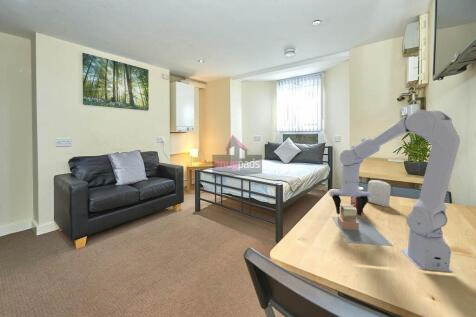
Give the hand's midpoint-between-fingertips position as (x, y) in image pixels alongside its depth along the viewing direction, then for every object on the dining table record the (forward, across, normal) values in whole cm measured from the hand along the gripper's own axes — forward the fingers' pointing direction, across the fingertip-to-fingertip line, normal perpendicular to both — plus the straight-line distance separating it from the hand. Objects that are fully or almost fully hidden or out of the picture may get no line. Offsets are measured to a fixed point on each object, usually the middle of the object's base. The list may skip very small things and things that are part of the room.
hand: (348, 214), depth 83 cm
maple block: (+2, 0, 0) cm, 2 cm away
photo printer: (+6, -24, -31) cm, 40 cm away
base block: (+5, 0, 0) cm, 5 cm away
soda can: (+6, -9, -17) cm, 20 cm away
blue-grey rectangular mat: (+6, -3, +2) cm, 7 cm away
